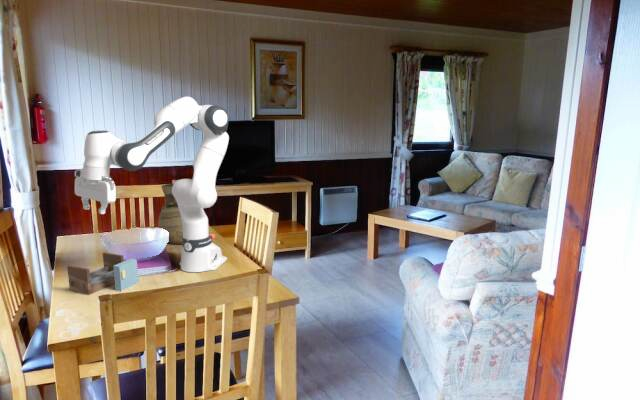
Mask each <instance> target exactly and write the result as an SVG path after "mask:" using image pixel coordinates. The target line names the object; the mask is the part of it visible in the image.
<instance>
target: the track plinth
mask: <svg viewBox="0 0 640 400" xmlns="http://www.w3.org/2000/svg"><path fill="white" fill-rule="evenodd" d="M102 260H103V261H102V262H103V267H101V268H99V269H96V270H94V271H90V269H89V268H86V267H82V266H76V265H71V264H70V265H67V266H66V268H67V276H68V277H67V279H68V286H69V291H70V292H74V293H79V294H83V295H87V296H90V295H92V294H94V293H97V292H99V291H101V290H102V289H105V288H107V287H110V286H112V285H115V278H114V267H113V266H114V265H116V264H119V263H121V262H124V261H125V260H124V255H122V254H117V253H111V252H106V251H105V252H103V253H102ZM111 284H112V285H111ZM109 285H110V286H109Z"/></svg>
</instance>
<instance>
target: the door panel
mask: <svg viewBox="0 0 640 400" xmlns="http://www.w3.org/2000/svg"><path fill="white" fill-rule="evenodd" d="M113 267H114V278H115V283H114V288H115V291H118V290H123V291H125V290H127V289H129V288H131V287H133V286H135V285H137V284H136V283H138V282H139V271H138V269H139V268H138V260H137V259H136V258H129V259H126V260H124V262H121V263H119V264H116V265H114V266H113ZM134 284H135V285H134ZM138 284H139V283H138ZM132 285H133V286H132ZM130 286H131V287H130ZM128 287H129V288H128ZM126 288H127V289H126ZM124 289H125V290H124Z"/></svg>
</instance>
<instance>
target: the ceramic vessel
mask: <svg viewBox="0 0 640 400" xmlns="http://www.w3.org/2000/svg"><path fill="white" fill-rule="evenodd" d="M173 184H174V183H165V184H163V185H161V190H162V192H163V194H164V195H163V196H164V203H165V204H164V205H163V206H162V207H161V208H160V213H159V216H158V229H159V228H163V229H165V230H167V231H168V232H169V242H168V243H167V244H170V245H182V237H183V230H182V219H181V215H180V211H179V208H178V205H177V201H176V199H175V198H174V196H173V194H172V187H173Z"/></svg>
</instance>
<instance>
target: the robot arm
mask: <svg viewBox="0 0 640 400" xmlns="http://www.w3.org/2000/svg"><path fill="white" fill-rule="evenodd" d="M229 118H230V117H229V112H228V111H227V110H226V108H224V107H223V106H221V105H217V104H214V105H213V104H204V105H199V104H198V102H197V101H196V100H195V99H194V98H193V97H191V96H183V97H180V98H177V99H176V100H173V101H172V102H169V103H168V104H167V105H165V106H163V107H162V108H161V109H160V110H159V111H157V113H156V114H155V115H154V117H153V125H154V128H153V129H152V130H151V131H150V132H148V133H147V134H145V135H144V136H143V137H142V138H140V139H139V140H138V141H133V142H126V141H124V140H122V139H120V138H118V137H116V136H115V135H114V134H112V133H111V131H108V130H92V131H89V132H88V133H87V134H86V136H85V140H84V146H83V147H84V148H83V155H84V162H83V166H82V168H80V169H78V170H75V171H74V177H75V178H74V195H76V196H78V197H81V202H82V209H83V210H86V211H87V210H90V209H91V205H90V204H89V200H92V201H97V202H100V205H101V206H100V207H99V208H98V214H100V215H104V214H106V210H107V208H108V206H109V204H114V203H115V202H116V200H117V194H116V193H117V188H116V184H115V181H114V180H113V178H112V177H111V176H110V171H111V169H110V168H111V166H112V165H113V166H115V167H118V168H121V169H124V170H125V171H129V172H136V171H138V170H140V169H142V168H143V167H144V165H145V164H146V163H147V162H148V159H149V157H151V155H152V154H154V153H155V151H156V150H158V149H159V148H160V147H162V146H163V145H164V144H166V143H167V142H168V140H170V139H171V138H172V137H173V136H175V135H176V134H178V133H179V132H181V131H183V130H184V129H185V128H186V127H187V126H190V127H191V128H193V129H195V130H197V131H203V139H202V141H201V144H200V146H199V148H198V150H197V153H196V155H195V157H194V159H193V162H192V167H193V175H192V179H190V178H181V179H178V180H176V181H175V182H174V183H172V184H173V187H172V194H173V196H174V198H175V199H176V201H177V205H178V208H179V211H180V215H181V219H182V230H183V237H182V244H181V246H182V247H181V250H180V251H181V253H180V254H181V255H180V257H181V258H180V261H179V266H180V270H182V272H183V271H184V272H186V273H202V272H207V271H216V270H217V269H218V268H219V267H220V266H222V265H223V264H224V263H225V262H226V261H228V257H227V256H224V255H223V253H222V252H223V251H222V248H221V247H220V246H218V245H217V244H216V243H214V242H212V240H214V239H215V238H216V234H214V233H213V234H212V233H210V231H209V230H210V229H209V218H208V216H207V215H208V214H206V212H205V210H204V209H207V208H211V207H213V206H214V205H215V203H216V202H217V200H218V193H217V190H216V189H217V188H216V182H217V176H218V172H219V169H220V167H221V164H222V163H223V160H224V158H225V155H226V153H227V149H228V145H229V140H230V136H229V134H228V132H227V131H228V127H229V120H230V119H229Z"/></svg>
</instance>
